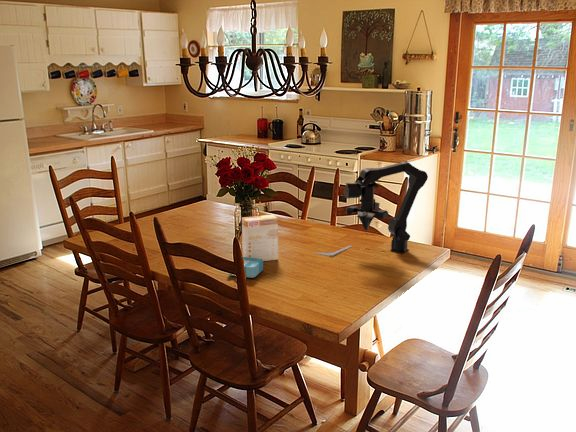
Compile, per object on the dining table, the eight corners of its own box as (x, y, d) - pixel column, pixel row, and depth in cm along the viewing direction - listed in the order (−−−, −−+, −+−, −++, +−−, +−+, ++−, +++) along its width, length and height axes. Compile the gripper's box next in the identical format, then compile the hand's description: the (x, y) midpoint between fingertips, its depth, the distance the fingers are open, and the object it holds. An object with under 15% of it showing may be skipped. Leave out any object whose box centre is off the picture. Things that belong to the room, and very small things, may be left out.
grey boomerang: (351, 248, 257) (352, 246, 257) (331, 257, 243) (331, 255, 243) (326, 242, 266) (326, 241, 266) (305, 251, 252) (305, 249, 252)
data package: (253, 267, 216) (226, 264, 219) (254, 278, 217) (226, 275, 220) (264, 258, 227) (237, 256, 230) (264, 268, 228) (238, 266, 231)
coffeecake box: (273, 255, 246) (273, 214, 242) (278, 259, 240) (278, 217, 235) (242, 258, 241) (241, 216, 236) (246, 263, 234) (245, 220, 230)
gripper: (394, 196, 241) (392, 229, 245) (357, 191, 252) (356, 223, 256) (383, 200, 232) (382, 235, 236) (345, 195, 243) (345, 228, 247)
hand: (366, 230), depth 244 cm, fingers closed
